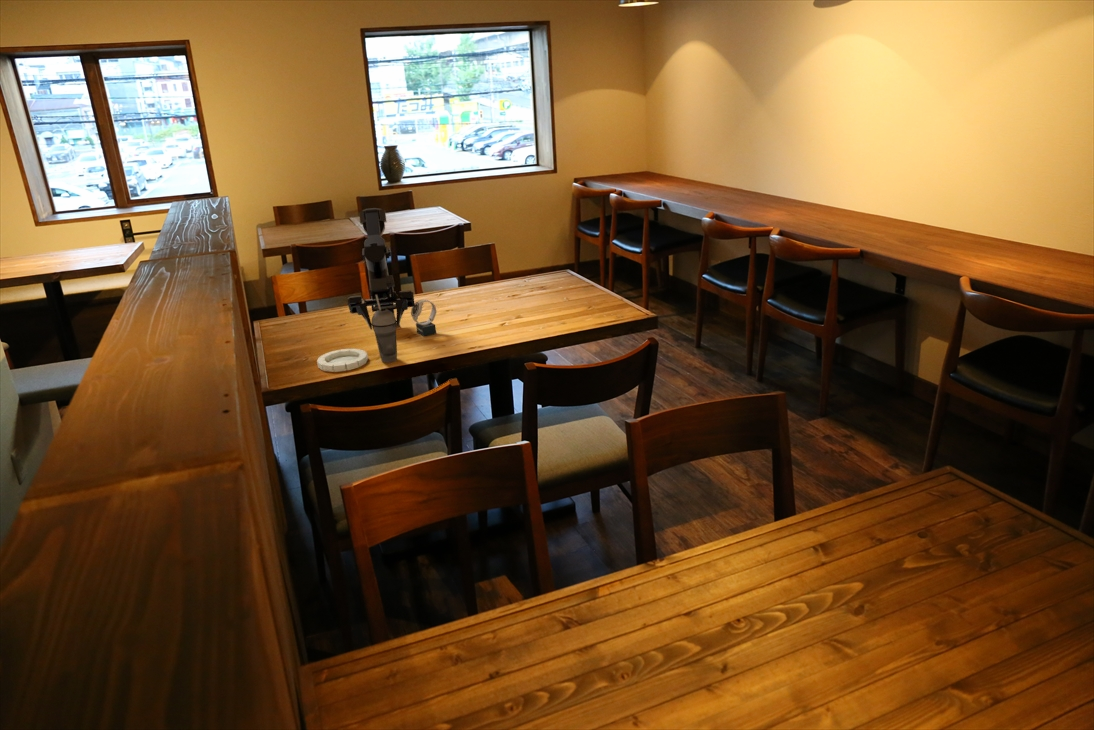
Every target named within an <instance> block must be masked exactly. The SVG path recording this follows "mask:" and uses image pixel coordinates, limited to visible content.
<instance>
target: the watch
mask: <svg viewBox="0 0 1094 730" xmlns="http://www.w3.org/2000/svg"><path fill="white" fill-rule="evenodd" d="M424 303H430V305H431V306H432V307H431V312H430V316H429V317H428V320H425V321H418V317H420V315H421V313H422V311H423V306H424ZM414 304H415V306H413V307H411V310H410V315H411V317H412V319H413V321H414V322H415V326H416V333H417V334H419V335H420V336H422V337H423V338H425V337H429V336H433V335H437V328H436V324H435V323H433V322H434V320H435V317H436V315H437V308H436V305H435V304H434V302H432V301H430V300H429V299H420V300H417V301H415V302H414Z"/></svg>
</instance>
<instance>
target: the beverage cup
mask: <svg viewBox="0 0 1094 730" xmlns="http://www.w3.org/2000/svg"><path fill="white" fill-rule="evenodd" d="M376 299H377V303H378V307H379V310H378V311H375V312H373V315H372V317H371V325H372V330H373V332H374V335H375V340H376V344H377V348H378V353H379V357H380V360H381V362H382V363H383V364H389V363H395V362H397V360H398V349H397V343H398V342H397V327H396V323H397V317H396V315H395V316H394V314H395V313H394V314H393V313H392V312H391V311H389V310H387V309H381V308H380V304H379V300H378V296H377V295H376Z"/></svg>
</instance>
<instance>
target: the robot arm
mask: <svg viewBox="0 0 1094 730" xmlns="http://www.w3.org/2000/svg"><path fill="white" fill-rule="evenodd" d="M358 216H359V222H360V223H359V224H360V225H361V226H362V227H363V230H364V232H365V234H366V235H367V238H366V239H365V240H364V242H363V245H364V246H363V247H364V248H362V249H361V250H362V251H361V252H362V254H361V255H362V259H363V262H364V261H365V262H366V263H365V265H366V267H367V268H366V269H367V274H368V281H369V298H368V299H367V298H366V299H365V298H363V297H362V295H353V296H349V297H348V298H347V305H348V309H349V310H348V311H349V313H350V314H353V315H354V314H357V315H358V316H361V317H362V318H363V319H364V320H365V322H366V324H367V325H368V327H369V329H370V330H373V327H372V325H371V323H372V320H371V317H370V314H369V310H368V307H371V312H372V313H375V312H376V311H378V310H379V307H378V303H377V299H376V295H377V296H378V300H379V304H380V308H381V309H387V310H389V311H391V312H392V313H393V314H394V316H395V317H396V321H397V323H396V328H398V327H400V326H401V324H400V323H401V320H402V317H403V316H404V315H403V314H404V312H405V311H407V310H408V309H409V308H412V307H413V306H415V304H414V303H415V297H414V296H415V295H414V291H413V290H411V289H408V290H400V291H399V295H398V294H397V293H396V291H394V288H395V281H394V275H393V274H391V275H389V269H388V265H387V264H388V263H387V262H388V259H390V257H391V256H392V251H391V249H390V247H389V246H388V245H386V240H385V239H384V238H383V235H384V232H385V230H386V223H387V214H386V210H385V209H382V208H377V207H373V208H365V209H362V210H361V211H359V212H358ZM395 310H396V314H395Z"/></svg>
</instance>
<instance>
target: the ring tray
mask: <svg viewBox="0 0 1094 730" xmlns="http://www.w3.org/2000/svg"><path fill="white" fill-rule="evenodd" d="M368 359H369V357H368V353H367V351H365V350H363V349H359V348H344V349H342V348H341V349H337V350H332V351H328V352H326V353H324V354H321V355H320V356H319V357H318V358H317V360H316V362H317V364H316V365H317V367H318V369H320V370H321V371H324V372H333V373H338V372H346V371H351V370H354V369H355V370H356V369H358V368H360V367H362V366H364V365H365V364H367V363H368Z"/></svg>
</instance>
